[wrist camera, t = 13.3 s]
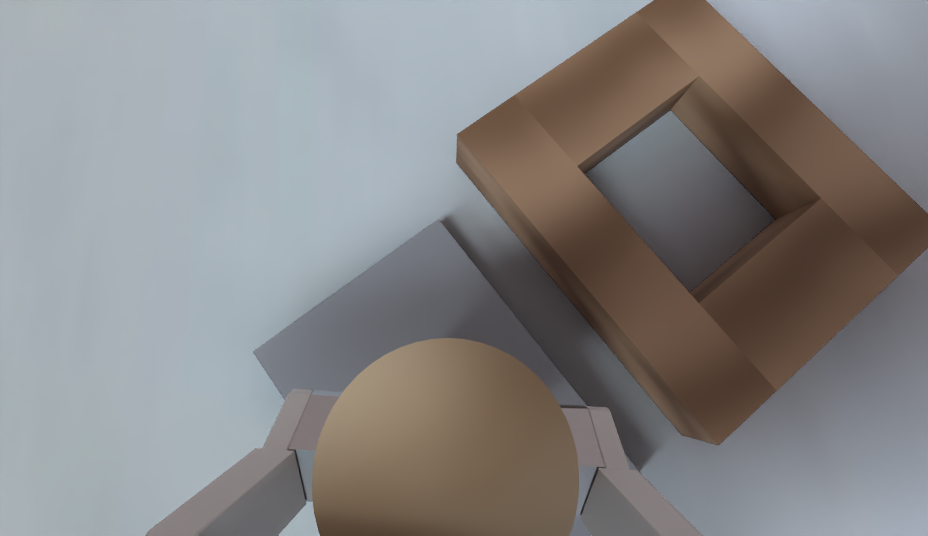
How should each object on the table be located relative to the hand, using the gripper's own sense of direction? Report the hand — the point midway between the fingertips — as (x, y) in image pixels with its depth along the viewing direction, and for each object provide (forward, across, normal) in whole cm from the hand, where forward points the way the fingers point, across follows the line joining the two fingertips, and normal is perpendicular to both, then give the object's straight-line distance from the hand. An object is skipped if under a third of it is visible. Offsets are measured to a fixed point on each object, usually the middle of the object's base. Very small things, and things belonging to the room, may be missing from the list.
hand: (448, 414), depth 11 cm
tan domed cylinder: (+3, 0, +4) cm, 5 cm away
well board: (+12, -10, -1) cm, 15 cm away
